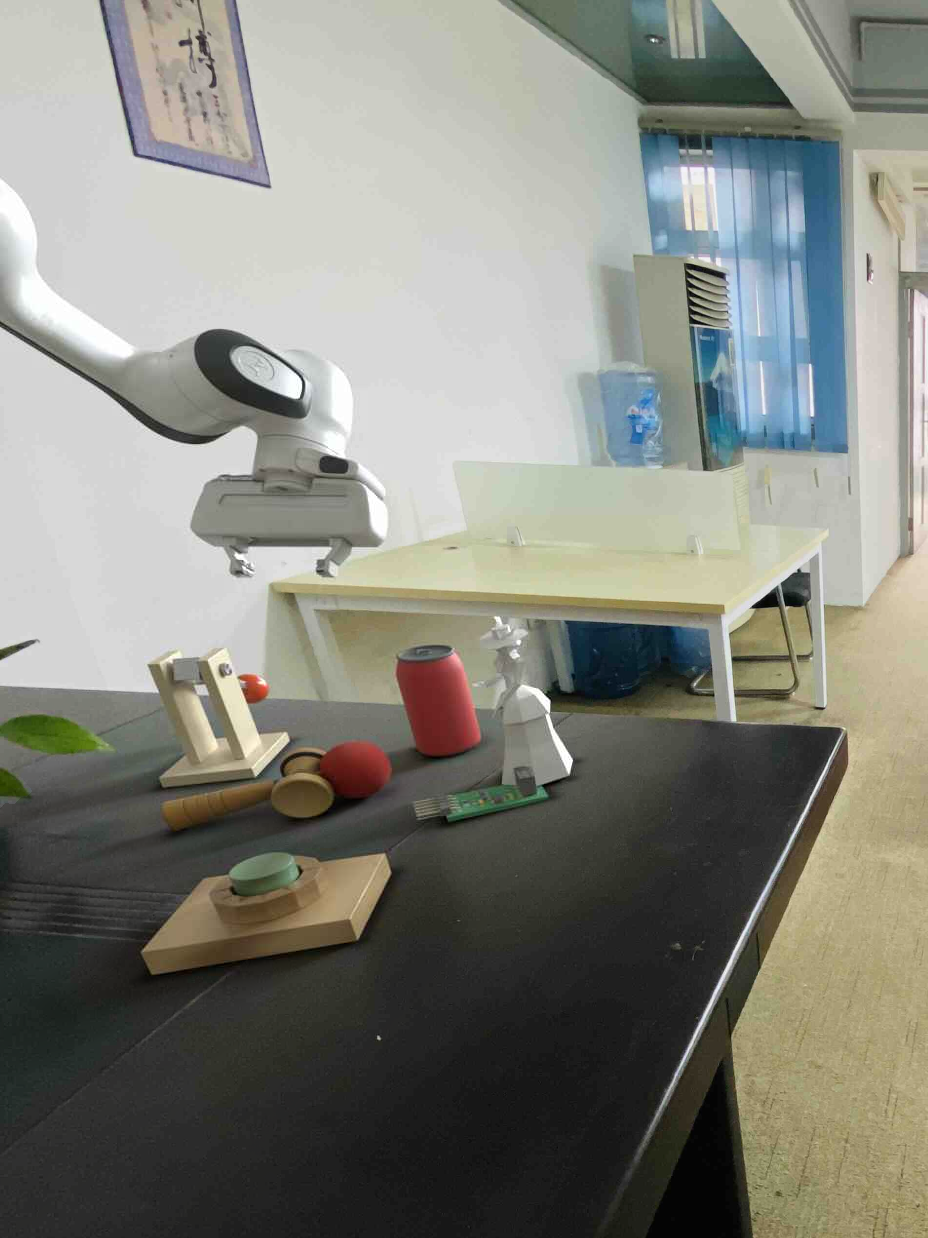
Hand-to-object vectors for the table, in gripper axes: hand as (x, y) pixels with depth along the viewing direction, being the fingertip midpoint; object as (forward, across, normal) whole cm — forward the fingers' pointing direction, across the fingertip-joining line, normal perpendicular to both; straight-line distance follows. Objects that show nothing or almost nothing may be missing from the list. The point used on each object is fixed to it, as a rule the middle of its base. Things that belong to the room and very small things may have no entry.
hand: (283, 575), depth 99 cm
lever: (+16, -2, -3) cm, 17 cm away
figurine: (+28, +34, -6) cm, 44 cm away
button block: (+44, +22, -26) cm, 55 cm away
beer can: (+23, +21, 0) cm, 31 cm away
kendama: (+32, +12, -11) cm, 35 cm away
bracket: (+24, -1, -2) cm, 24 cm away
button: (+41, +22, -28) cm, 54 cm away
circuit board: (+32, +30, -11) cm, 45 cm away
